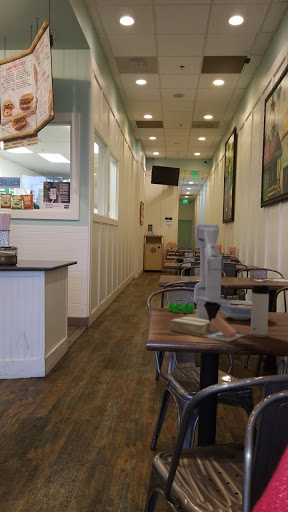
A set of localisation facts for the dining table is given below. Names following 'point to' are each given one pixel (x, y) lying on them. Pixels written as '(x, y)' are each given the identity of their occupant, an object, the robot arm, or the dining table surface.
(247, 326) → the dining table surface
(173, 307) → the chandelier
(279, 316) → the dining table surface
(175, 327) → the board
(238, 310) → the ramen bowl
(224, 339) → the mat
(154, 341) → the dining table surface
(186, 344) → the dining table surface
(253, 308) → the travel mug
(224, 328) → the terracotta brown block
